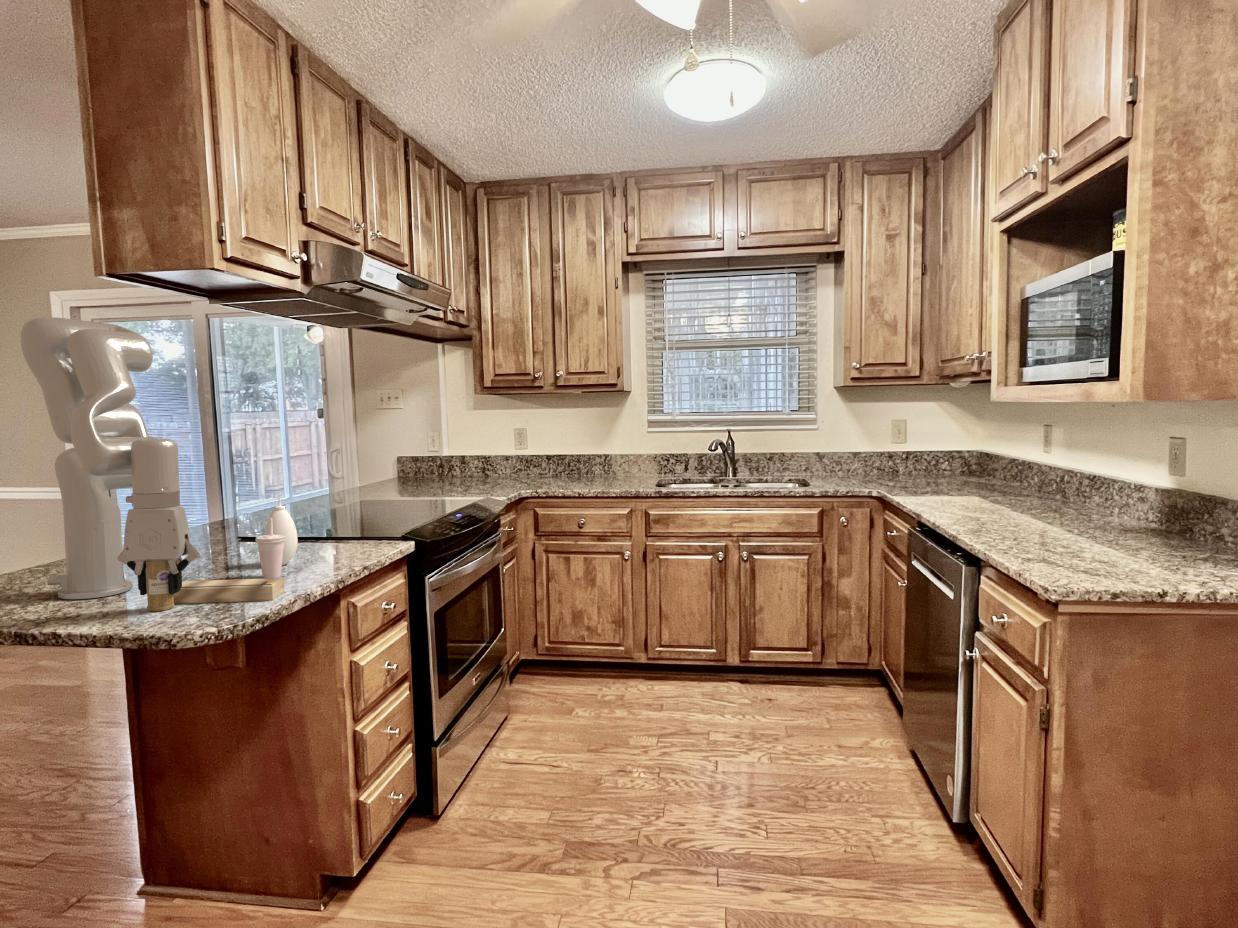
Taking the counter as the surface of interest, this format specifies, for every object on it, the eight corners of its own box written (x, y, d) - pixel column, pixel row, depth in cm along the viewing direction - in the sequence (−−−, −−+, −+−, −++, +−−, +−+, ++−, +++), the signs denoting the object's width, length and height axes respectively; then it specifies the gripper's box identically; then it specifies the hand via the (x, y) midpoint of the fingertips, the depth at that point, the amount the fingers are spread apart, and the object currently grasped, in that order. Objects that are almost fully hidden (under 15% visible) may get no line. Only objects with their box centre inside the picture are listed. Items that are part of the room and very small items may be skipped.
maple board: (166, 604, 132) (166, 589, 131) (183, 594, 139) (183, 580, 138) (272, 600, 135) (272, 585, 135) (284, 591, 142) (283, 577, 142)
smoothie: (290, 572, 159) (288, 516, 158) (281, 579, 153) (279, 520, 152) (262, 573, 158) (260, 516, 157) (252, 580, 152) (250, 520, 151)
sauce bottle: (262, 569, 163) (260, 498, 162) (265, 563, 170) (263, 494, 169) (297, 566, 166) (295, 496, 165) (298, 560, 173) (297, 493, 172)
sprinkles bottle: (157, 613, 126) (154, 544, 125) (141, 610, 127) (138, 542, 126) (180, 606, 130) (177, 540, 129) (165, 604, 132) (162, 538, 131)
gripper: (96, 504, 122) (101, 599, 123) (194, 503, 125) (198, 596, 126) (120, 499, 129) (124, 589, 131) (212, 498, 132) (215, 586, 133)
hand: (160, 591), depth 128 cm, fingers closed on sprinkles bottle, 4 cm apart
